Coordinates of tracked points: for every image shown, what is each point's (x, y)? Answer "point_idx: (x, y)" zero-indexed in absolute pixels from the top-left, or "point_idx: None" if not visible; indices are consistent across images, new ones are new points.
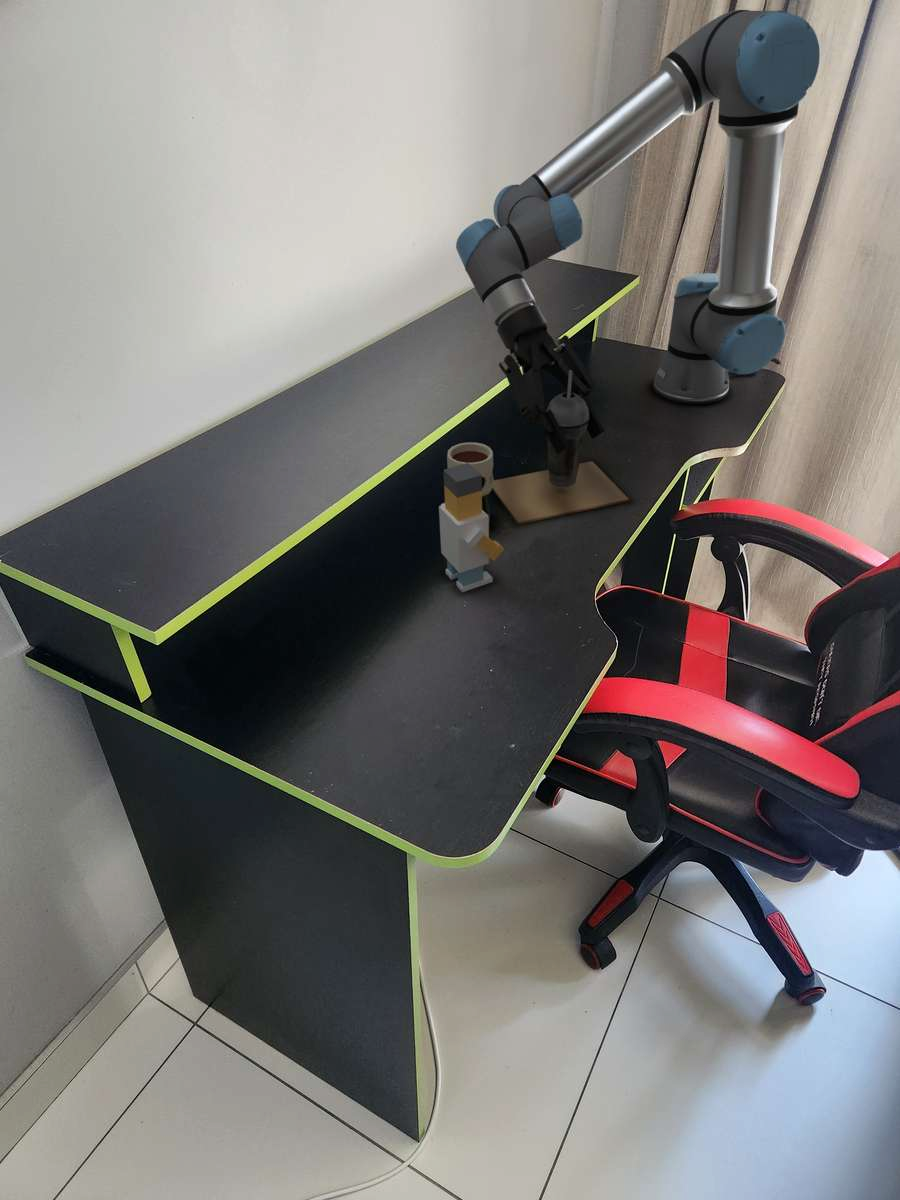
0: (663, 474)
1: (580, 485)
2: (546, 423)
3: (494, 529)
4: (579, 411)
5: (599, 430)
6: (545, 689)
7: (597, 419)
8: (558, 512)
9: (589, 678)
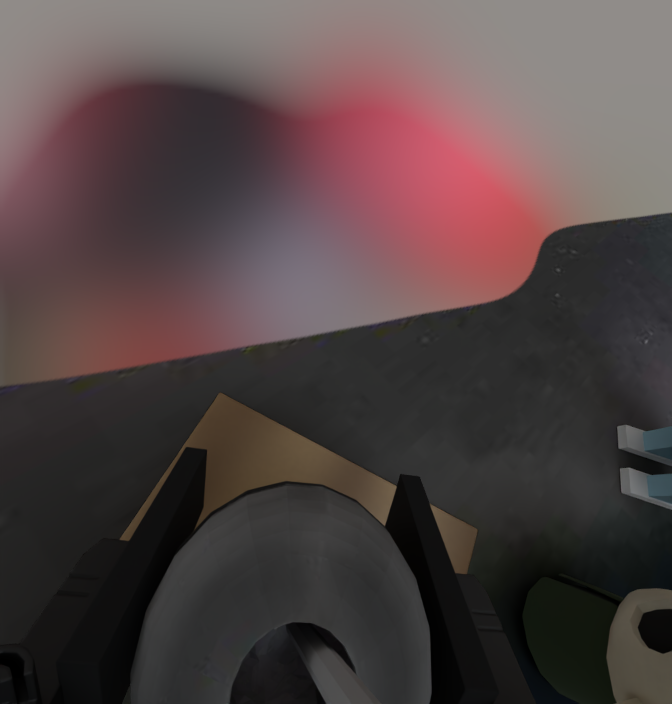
0: (38, 399)
1: None
2: (488, 630)
3: (527, 560)
4: (325, 508)
5: (203, 462)
6: (648, 247)
7: (169, 491)
8: (378, 483)
9: (597, 223)
